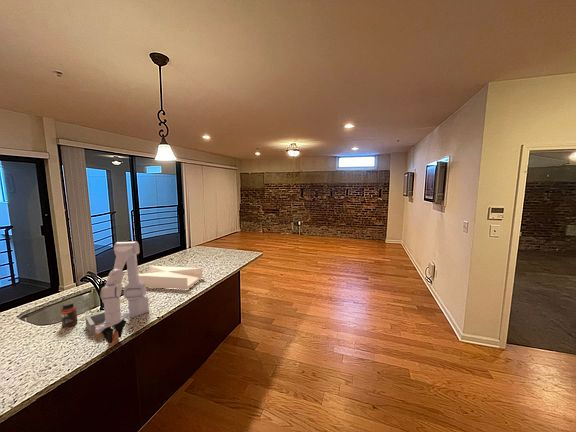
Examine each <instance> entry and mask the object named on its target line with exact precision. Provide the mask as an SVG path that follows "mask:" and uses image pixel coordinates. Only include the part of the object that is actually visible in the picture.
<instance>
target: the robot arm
mask: <svg viewBox="0 0 576 432" xmlns="http://www.w3.org/2000/svg"><path fill="white" fill-rule="evenodd" d="M113 252H114V255H115V260H114V265H113V269H112V270H110V272H108V276H107V280H106V283H105V285H104V286H103V287H102V288H101V289H100V295H99V296H100V299H101V300H102V304H103V307H104V308H103V309H104V310H103V312H104V311H105V322H102V323H103V324H101V323H100V324H101V325H100V326H99V327H97V328H95V333H98V334H99V333H101V332H102V333H103V335H104V337H105V340H106V342H107V343H108V344H109V343H112V341H113V338H112V335H113V331H114V330H116V331H118V336H119V338H121V337H122V334H123V330H124V327H125V326H126V324H127V320H125V319H128V318H135V317H137V316H140V315H143V314H146V313H148V312H150V306H149V304H150V303H149V297H148V296H147V288H146V286H145V283H144V282H142V281H140V280H139V276H138V274H139V269H138V258H137V256H138V255H139V254H140V252H141V251H140V244H139V242H138V241H137V240H135V241H116V242H115V243H114V245H113ZM125 264H126V269H127V280H128V282H127V283H126V284H125V286H124V287H123V285H122V282H123V278H124V275H125V272H124V271H123V269H124V268H125ZM122 288H123V290H122ZM122 291H123V297H124V298H125V299H126V301H127V303H128V311H126V312H124V313H121V302H120V300H121V299H120V298H121V297H120V296H121V295H122ZM110 326H111V328H110ZM113 326H114V328H112V327H113Z"/></svg>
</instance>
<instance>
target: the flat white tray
mask: <svg viewBox="0 0 576 432" xmlns="http://www.w3.org/2000/svg"><path fill="white" fill-rule="evenodd" d="M148 268H149V272H147V273H138V276H139V280H140V281H142V282H144V283H145V286H146V287H151V288H150V289H153V288H181V289H188V288H190V287H191V286H192V285H194V284H195V283H196V282H197V281H199V280H200V279H201V278H204V277H203V268H202V267H186V266H185V267H183V266H182V267H181V266H167V265H166V266H161V265H160V266H159V265H149V267H148Z"/></svg>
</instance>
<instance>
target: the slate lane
mask: <svg viewBox="0 0 576 432" xmlns="http://www.w3.org/2000/svg"><path fill="white" fill-rule="evenodd" d="M104 322H105V311H104V310H103V311H100V312H97V313H94V314H91V315H88V316H85V327H86V329H87V330H88V333H89V334H90V336H92V335H95V328H94V326H96V325H99V324H101V323H104Z"/></svg>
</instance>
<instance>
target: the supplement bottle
mask: <svg viewBox="0 0 576 432" xmlns="http://www.w3.org/2000/svg"><path fill="white" fill-rule="evenodd" d="M77 314H78V313H77V306H76V305H74V301H68V302H65V303H63V304H62V308H61V309H60V316H61V317H60V318H61V327H63V328H68V327H72V326H74V325H76V324H78V315H77Z"/></svg>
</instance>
